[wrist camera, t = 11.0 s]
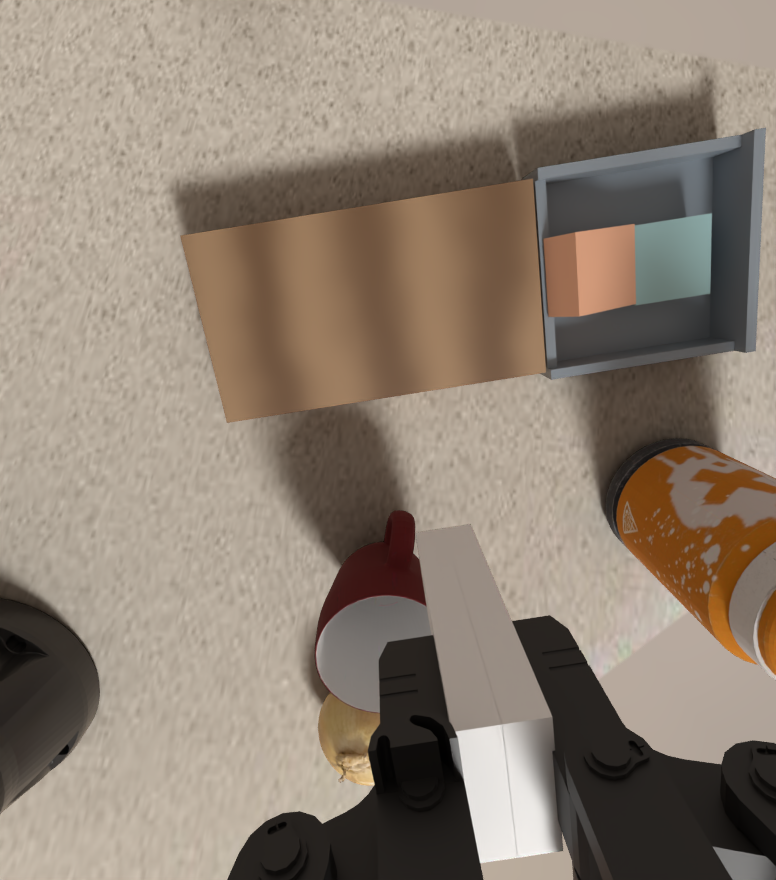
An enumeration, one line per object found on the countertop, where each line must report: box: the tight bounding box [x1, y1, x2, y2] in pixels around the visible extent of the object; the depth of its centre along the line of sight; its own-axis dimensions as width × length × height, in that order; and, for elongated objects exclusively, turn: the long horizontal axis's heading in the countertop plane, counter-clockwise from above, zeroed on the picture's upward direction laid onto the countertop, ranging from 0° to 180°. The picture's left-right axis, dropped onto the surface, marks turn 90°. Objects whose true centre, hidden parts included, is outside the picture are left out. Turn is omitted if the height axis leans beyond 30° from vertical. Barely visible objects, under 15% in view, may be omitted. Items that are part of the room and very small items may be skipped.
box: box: [523, 128, 766, 380], centre depth 32 cm, size 12×12×4 cm
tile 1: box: [633, 213, 712, 306], centre depth 32 cm, size 4×4×2 cm
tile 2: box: [543, 224, 636, 317], centre depth 31 cm, size 4×4×2 cm
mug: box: [315, 510, 431, 713], centre depth 34 cm, size 10×8×10 cm
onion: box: [318, 692, 380, 786], centre depth 39 cm, size 8×8×7 cm
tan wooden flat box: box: [181, 179, 546, 423], centre depth 33 cm, size 20×11×3 cm, turn 99°
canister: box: [606, 439, 776, 680], centre depth 29 cm, size 9×11×20 cm
